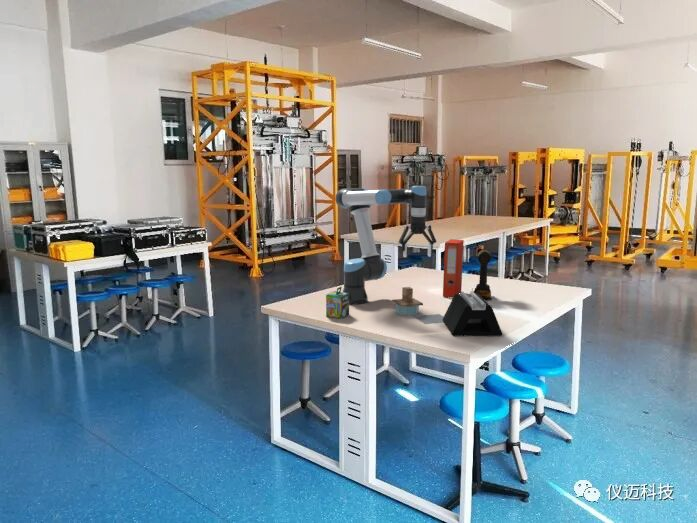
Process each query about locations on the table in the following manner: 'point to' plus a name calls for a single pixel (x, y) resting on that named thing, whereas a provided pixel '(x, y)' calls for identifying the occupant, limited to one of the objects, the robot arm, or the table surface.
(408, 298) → the lid
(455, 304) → the device stand
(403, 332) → the table surface
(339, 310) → the chalk box
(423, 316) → the mat
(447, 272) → the file binder
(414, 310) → the bowl
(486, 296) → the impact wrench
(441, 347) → the table surface
